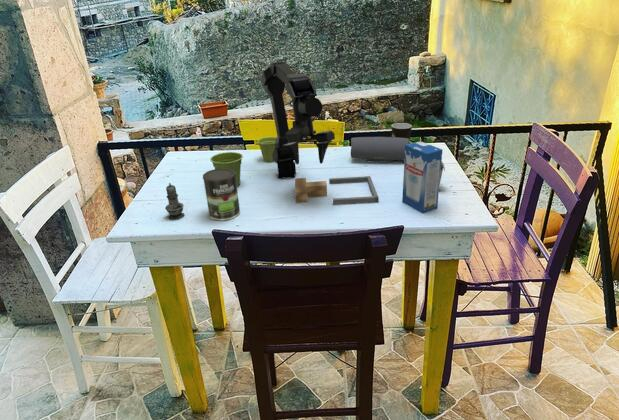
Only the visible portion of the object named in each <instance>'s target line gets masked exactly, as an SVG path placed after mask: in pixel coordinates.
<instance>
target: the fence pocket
mask: <svg viewBox="0 0 619 420" xmlns="http://www.w3.org/2000/svg"><path fill="white" fill-rule="evenodd" d="M328 183H329V185H336V184H337V185H338V184H340V185H341V184H356V183H367V184H368V188H369V191H370V193H371V196H369V195H368V196H354V197H352V196H351V197H339V198H338V197H337V198H336V197H334V198H332V205H333V206H337V205H339V206H340V205H353V204H354V205H355V204H357V203H358V204H369V203H371V204H373V203H379V201H380V200H379V198H380V197H379V195H378V192H377V190H376V187H375V185H374V182H373V180H372V177H371V176H370V175H367V176H364V175H363V176H350V177H331V178H328ZM358 204H357V205H358Z"/></svg>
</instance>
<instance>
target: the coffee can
mask: <svg viewBox="0 0 619 420" xmlns="http://www.w3.org/2000/svg"><path fill="white" fill-rule="evenodd" d="M202 179H203V185H204V190H205V196H206V197H205V198H206V205H207V208H208V215H209V218H210V219H211V220H214V221H218V222H219V221H220V222H221V221H222V222H223V221H231V220H233V219H234V218H237V217H238V216H239V215H240V214H241V210H240V209H241V208H240V201H239V194H238V187H237V183H236V172H235V171H234V170H232V169H226V168H221V169H215V168H214V169H210V170H208V171H206V172H204V173H203V174H202Z"/></svg>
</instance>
